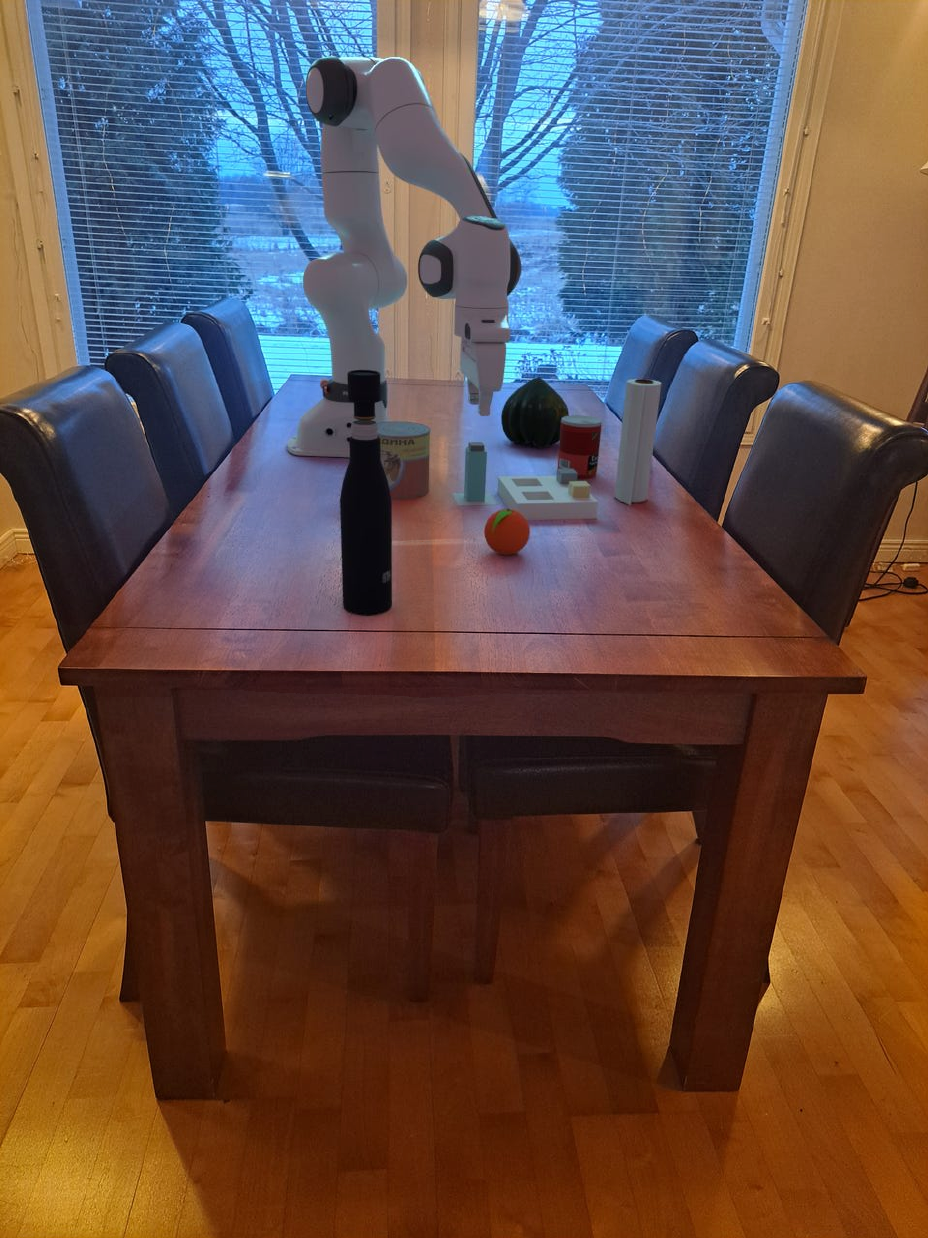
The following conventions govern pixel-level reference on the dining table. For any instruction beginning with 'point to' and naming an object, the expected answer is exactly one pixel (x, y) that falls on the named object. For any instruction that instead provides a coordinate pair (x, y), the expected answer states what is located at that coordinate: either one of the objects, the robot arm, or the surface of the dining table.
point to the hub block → (548, 496)
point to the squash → (534, 414)
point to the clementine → (507, 532)
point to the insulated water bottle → (365, 506)
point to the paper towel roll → (637, 440)
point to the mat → (462, 502)
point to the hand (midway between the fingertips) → (478, 409)
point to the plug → (475, 472)
